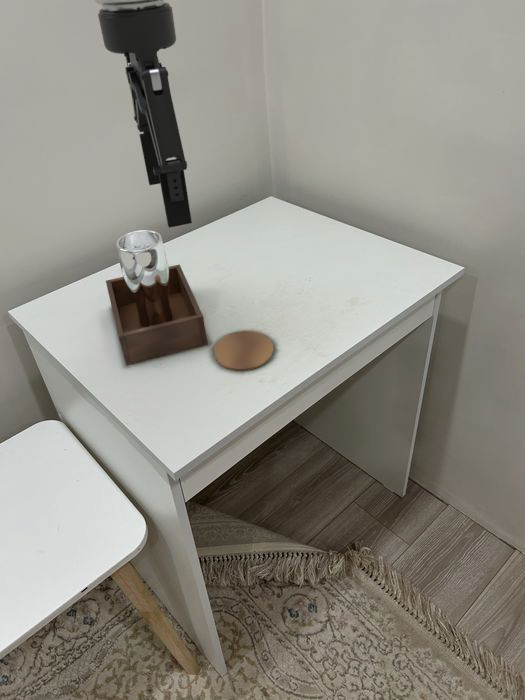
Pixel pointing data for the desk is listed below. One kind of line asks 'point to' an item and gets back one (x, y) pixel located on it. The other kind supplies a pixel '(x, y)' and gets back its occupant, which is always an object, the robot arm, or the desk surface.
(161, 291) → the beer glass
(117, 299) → the crate
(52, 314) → the desk surface
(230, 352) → the coaster
